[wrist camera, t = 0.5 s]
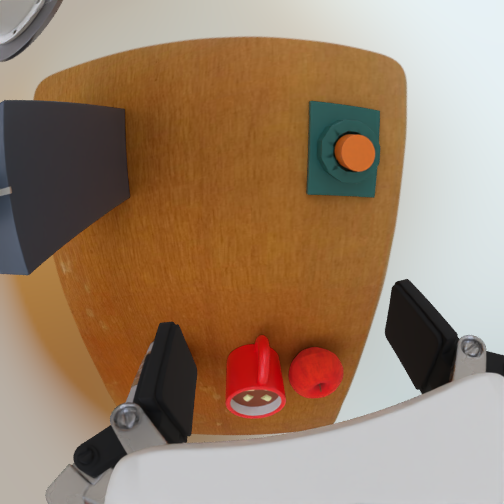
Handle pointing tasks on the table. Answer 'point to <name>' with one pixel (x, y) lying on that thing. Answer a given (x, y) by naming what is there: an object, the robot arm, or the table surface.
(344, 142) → the button
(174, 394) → the robot arm
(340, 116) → the push button base
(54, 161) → the tall knob tower
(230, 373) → the mug
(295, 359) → the apple
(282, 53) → the table surface
